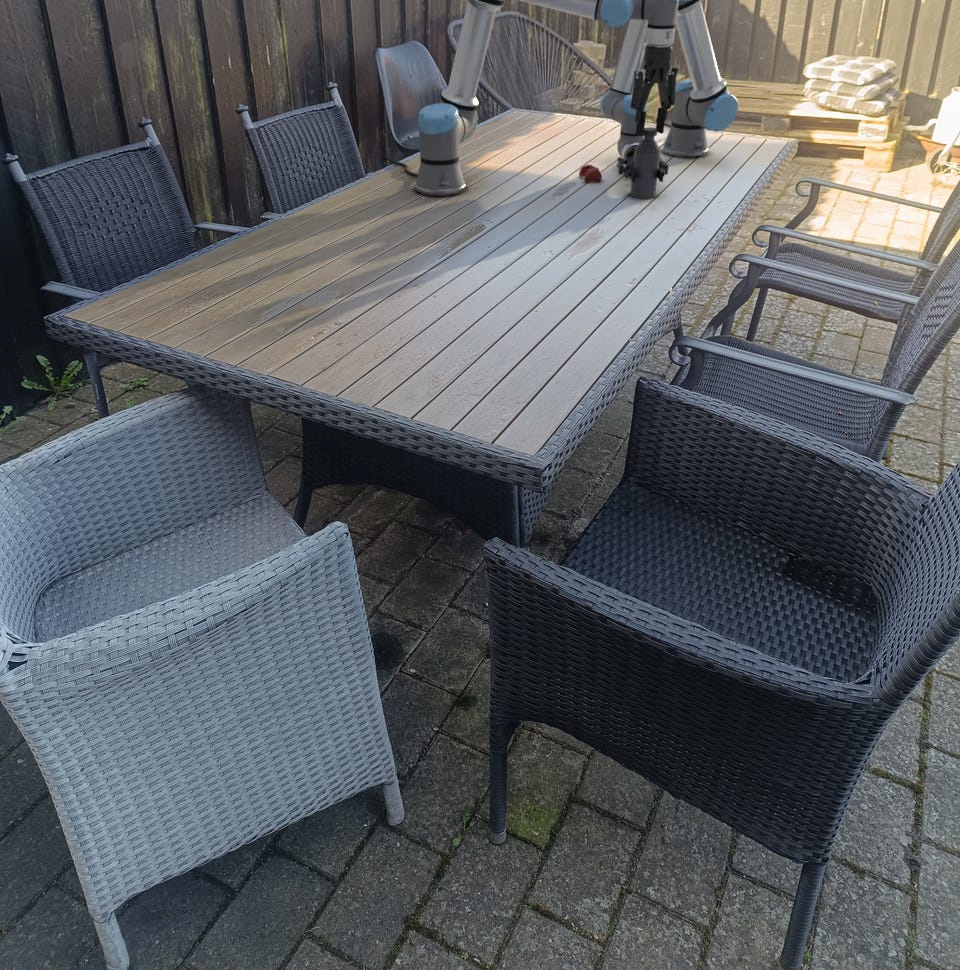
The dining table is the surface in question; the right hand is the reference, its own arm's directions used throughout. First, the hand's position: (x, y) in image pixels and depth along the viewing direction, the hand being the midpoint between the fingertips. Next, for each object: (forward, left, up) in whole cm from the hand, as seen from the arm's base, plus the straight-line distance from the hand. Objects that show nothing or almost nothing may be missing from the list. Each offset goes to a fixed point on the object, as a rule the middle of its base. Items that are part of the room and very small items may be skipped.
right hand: (648, 177), depth 246 cm
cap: (-4, -2, +12) cm, 13 cm away
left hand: (-4, -2, +11) cm, 12 cm away
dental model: (-14, -22, -7) cm, 27 cm away
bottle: (-4, -2, -7) cm, 8 cm away
